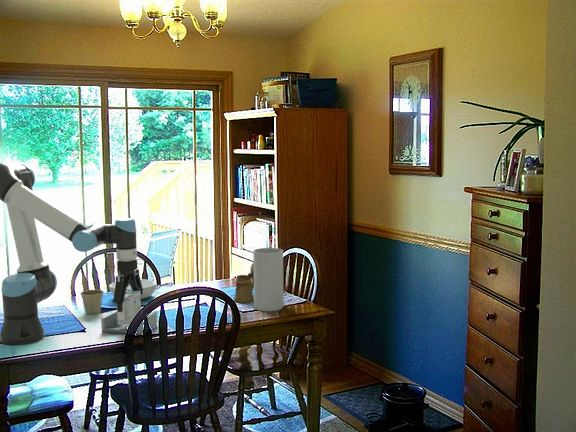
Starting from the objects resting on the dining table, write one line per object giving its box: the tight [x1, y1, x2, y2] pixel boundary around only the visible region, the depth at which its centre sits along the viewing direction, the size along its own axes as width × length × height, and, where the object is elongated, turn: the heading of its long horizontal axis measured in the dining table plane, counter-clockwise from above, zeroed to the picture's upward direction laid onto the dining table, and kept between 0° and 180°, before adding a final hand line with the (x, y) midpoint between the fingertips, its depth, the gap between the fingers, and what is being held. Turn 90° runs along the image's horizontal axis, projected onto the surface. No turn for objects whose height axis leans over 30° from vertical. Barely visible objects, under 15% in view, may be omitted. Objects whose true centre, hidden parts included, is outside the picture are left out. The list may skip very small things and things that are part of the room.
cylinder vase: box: [252, 247, 284, 313], centre depth 283 cm, size 12×12×25 cm
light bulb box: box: [117, 291, 142, 325], centre depth 255 cm, size 11×7×11 cm, turn 178°
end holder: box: [100, 309, 158, 336], centre depth 255 cm, size 13×16×6 cm
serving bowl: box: [108, 278, 157, 300], centre depth 302 cm, size 21×21×7 cm
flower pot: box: [79, 289, 105, 315], centre depth 279 cm, size 9×9×9 cm
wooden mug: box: [233, 262, 254, 304], centre depth 297 cm, size 9×14×18 cm, turn 125°
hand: (129, 315), depth 255 cm, fingers closed on light bulb box, 11 cm apart
